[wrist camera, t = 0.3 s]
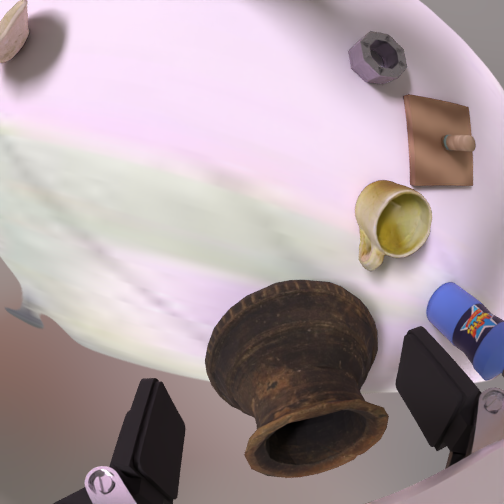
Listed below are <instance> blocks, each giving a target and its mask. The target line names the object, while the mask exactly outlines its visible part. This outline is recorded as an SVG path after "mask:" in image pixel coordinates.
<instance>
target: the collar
mask: <svg viewBox="0 0 504 504" xmlns="http://www.w3.org/2000/svg"><path fill="white" fill-rule="evenodd" d="M370 50H374V51H375V52H376V53H377V54H378V55H379V56H380V57H381V58H382V59H383V64H384V68H383V67H381V66H380V65H379V64H378V63H377V62H376V61H375V60H374V59H373V58H372V56H371V51H370ZM348 53H349V58H350V64H351V69H352V70H354V71H355V72H356V73H357V74H358V75H359V76H360V77H361V78H362V79H363V80H364V81H365V82H368V83H377V84H385V83H387V82H389V81H392V80H394V79H397V78H398V77H399V76H400V75H401V74H402V72H403V71H404V70H405V69H406V68H407V64H406V59H405V55H404V50H403V48H402V47H401V46H400V45H399V44H398V43H397V42H396V41H395V40H394V39H393V38H391V37H390V36H389V35H388V34H383V33H378V32H372V31H370V32H369V33H368V34H367V35H365V36H364V37H363V38H362V39H360V40H359V41H358V42H357V43H356V44H355V45H354V46H353V47H352V48H351V49H350V50H349V51H348Z"/></svg>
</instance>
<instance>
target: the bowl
mask: <svg viewBox="0 0 504 504" xmlns="http://www.w3.org/2000/svg"><path fill="white" fill-rule="evenodd" d="M28 35H29V29H28V13H27V0H20V1H18V2H17V3H16V4H15V5H14V6H13V7H12V8H11V9H10V10H9V11H8V12H7V13H6V14H5V16H4V17H3V19H2V20H1V21H0V63H4V62H7V61H9V60H11V59H12V58H13V57H14V56H15V55H16V54H17V53H18V52H19V50H20V49H21V48H22V47H23V45H24V43H25V42H26V39H27V37H28Z"/></svg>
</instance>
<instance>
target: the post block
mask: <svg viewBox="0 0 504 504" xmlns="http://www.w3.org/2000/svg"><path fill="white" fill-rule="evenodd" d="M404 104H405V112H406V121H407V131H408V143H409V161H410V185H415V186H426V185H460V186H473V153H472V151H474V149H475V140H474V138H473V137H472V136H471V125H470V115H469V107H466V106H462V105H459V104H454V103H450V102H446V101H441V100H437V99H432V98H426V97H421V96H415V95H409V94H408V95H405V96H404Z"/></svg>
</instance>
